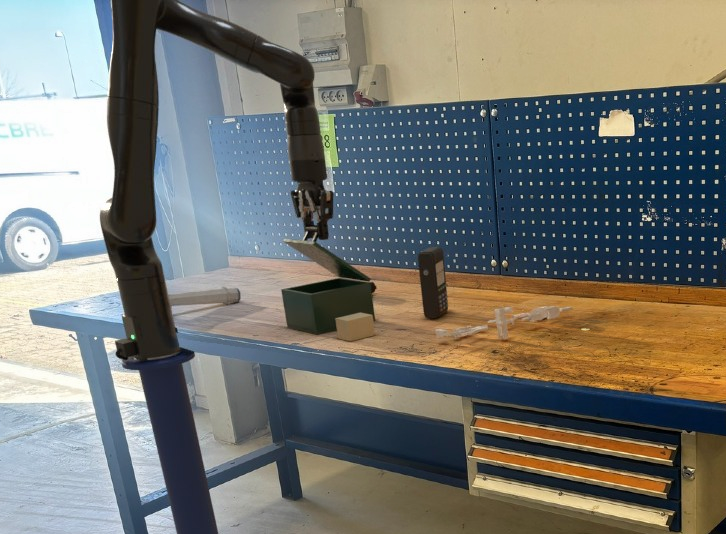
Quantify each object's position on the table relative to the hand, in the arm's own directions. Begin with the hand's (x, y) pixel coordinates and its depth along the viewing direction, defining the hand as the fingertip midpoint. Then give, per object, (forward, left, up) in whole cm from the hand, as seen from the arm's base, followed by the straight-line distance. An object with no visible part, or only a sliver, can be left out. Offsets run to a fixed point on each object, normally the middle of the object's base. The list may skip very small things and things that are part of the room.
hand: (317, 238), depth 188 cm
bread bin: (0, 0, -19) cm, 19 cm away
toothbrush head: (-11, +47, -20) cm, 52 cm away
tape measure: (+23, +20, -20) cm, 37 cm away
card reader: (+19, -15, -20) cm, 31 cm away
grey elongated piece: (+16, -40, -20) cm, 47 cm away
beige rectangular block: (-4, -16, -19) cm, 25 cm away
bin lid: (+2, 0, -5) cm, 6 cm away
